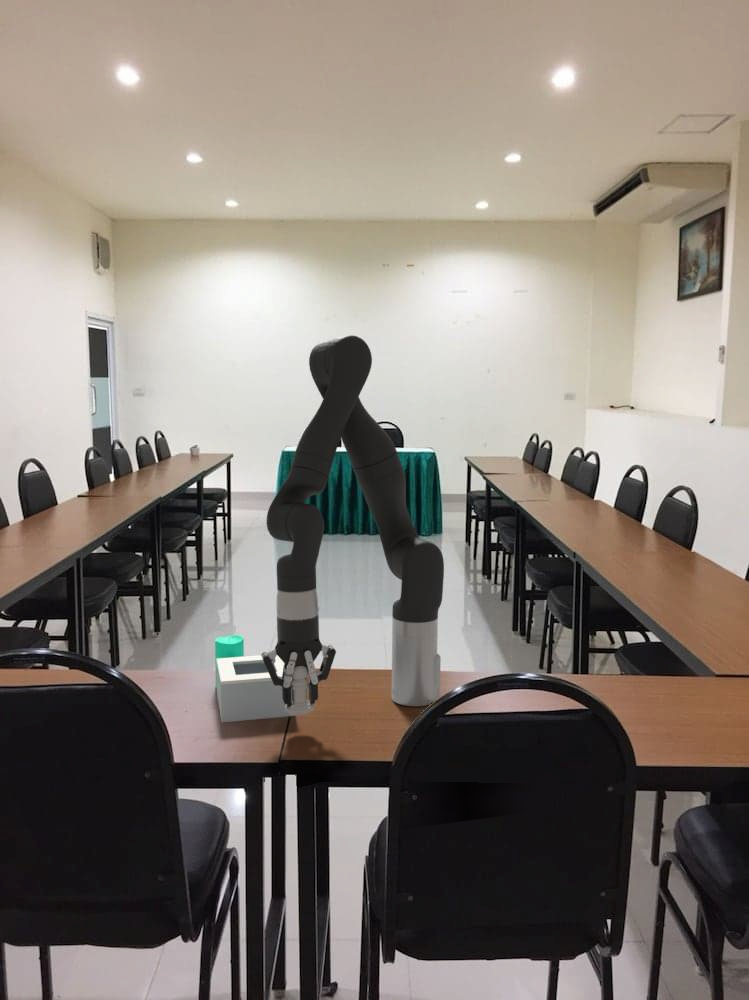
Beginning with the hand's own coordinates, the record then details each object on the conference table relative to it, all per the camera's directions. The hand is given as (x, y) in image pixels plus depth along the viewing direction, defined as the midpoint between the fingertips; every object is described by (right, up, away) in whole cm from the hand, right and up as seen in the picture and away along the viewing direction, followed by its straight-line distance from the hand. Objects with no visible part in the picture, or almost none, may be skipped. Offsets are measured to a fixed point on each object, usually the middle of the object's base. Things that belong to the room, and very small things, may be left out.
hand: (300, 703), depth 142 cm
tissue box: (-10, -4, +13) cm, 17 cm away
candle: (-17, -3, +23) cm, 29 cm away
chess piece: (0, -2, 0) cm, 2 cm away
